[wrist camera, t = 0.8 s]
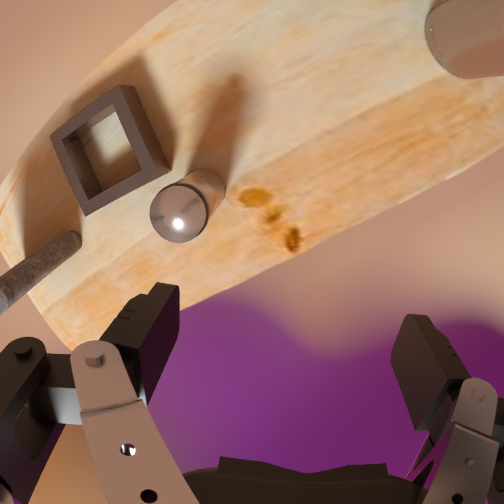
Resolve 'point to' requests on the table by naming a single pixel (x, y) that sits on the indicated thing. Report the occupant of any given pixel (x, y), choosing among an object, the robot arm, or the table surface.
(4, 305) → the flask
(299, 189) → the table surface
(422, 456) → the robot arm
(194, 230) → the silver metal cylinder
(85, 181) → the square frame
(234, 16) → the table surface
